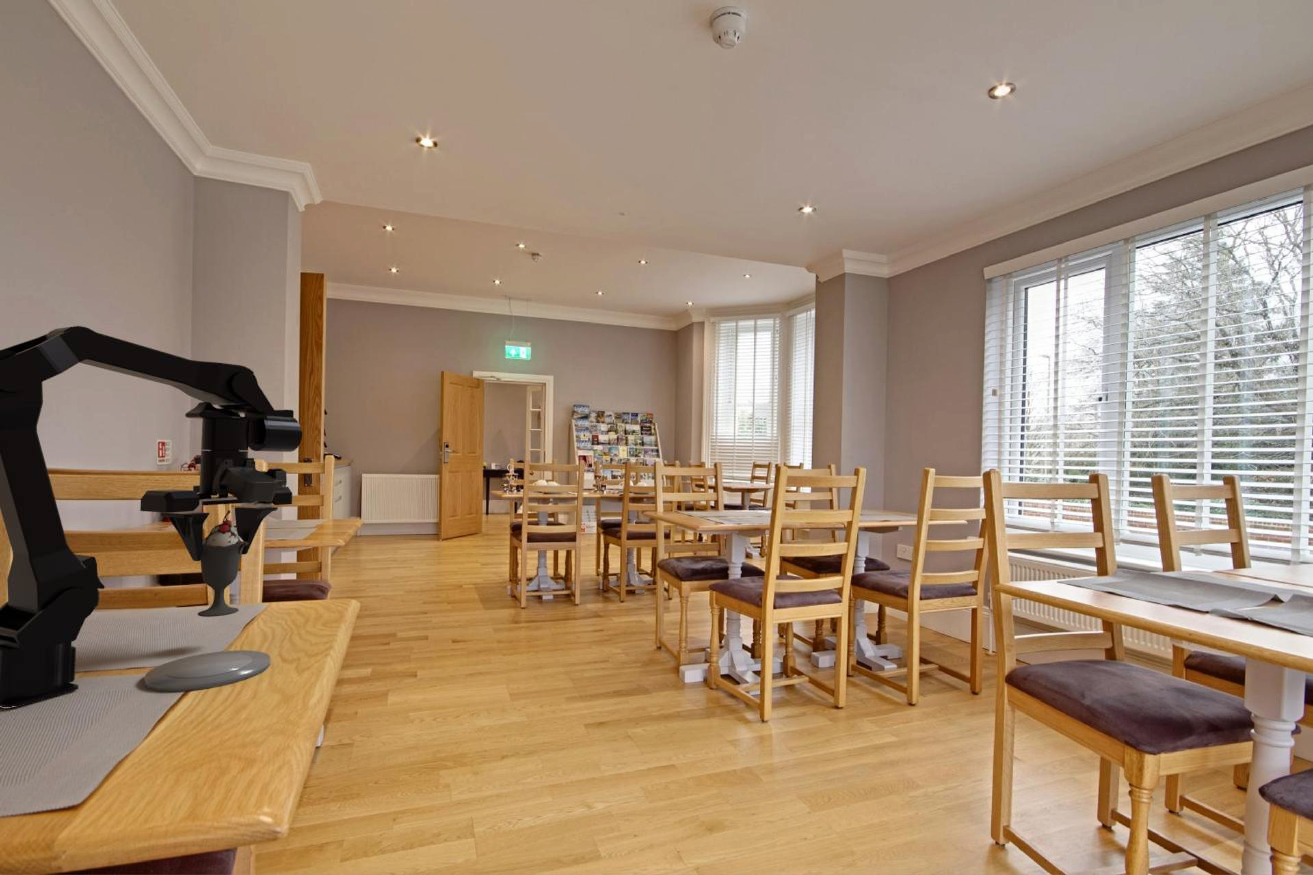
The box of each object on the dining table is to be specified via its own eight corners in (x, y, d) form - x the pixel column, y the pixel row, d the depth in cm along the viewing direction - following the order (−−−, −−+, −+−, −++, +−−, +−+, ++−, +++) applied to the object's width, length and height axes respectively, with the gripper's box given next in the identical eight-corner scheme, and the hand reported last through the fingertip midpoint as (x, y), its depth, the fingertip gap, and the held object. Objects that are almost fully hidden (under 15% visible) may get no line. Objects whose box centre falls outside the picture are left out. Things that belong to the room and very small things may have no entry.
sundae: (225, 618, 87) (230, 511, 88) (178, 617, 87) (183, 510, 88) (256, 607, 94) (260, 508, 94) (212, 606, 94) (217, 507, 94)
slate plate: (192, 697, 71) (192, 689, 71) (119, 682, 76) (119, 674, 76) (292, 662, 84) (293, 656, 84) (224, 651, 88) (225, 645, 88)
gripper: (197, 450, 80) (192, 572, 79) (320, 452, 97) (316, 552, 97) (140, 449, 84) (135, 565, 83) (268, 451, 101) (264, 547, 101)
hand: (220, 557), depth 91 cm, fingers closed on sundae, 6 cm apart
